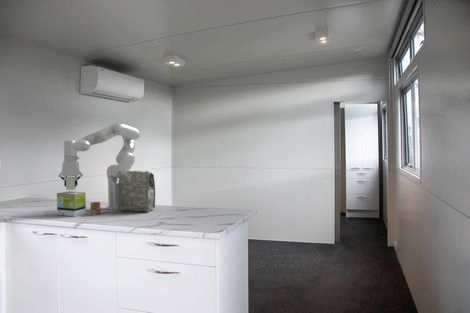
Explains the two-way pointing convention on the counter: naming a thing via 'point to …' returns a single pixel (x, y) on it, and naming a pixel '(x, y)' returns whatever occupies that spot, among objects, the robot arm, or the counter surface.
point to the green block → (70, 183)
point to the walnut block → (95, 208)
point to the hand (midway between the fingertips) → (71, 186)
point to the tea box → (71, 203)
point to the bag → (136, 191)
